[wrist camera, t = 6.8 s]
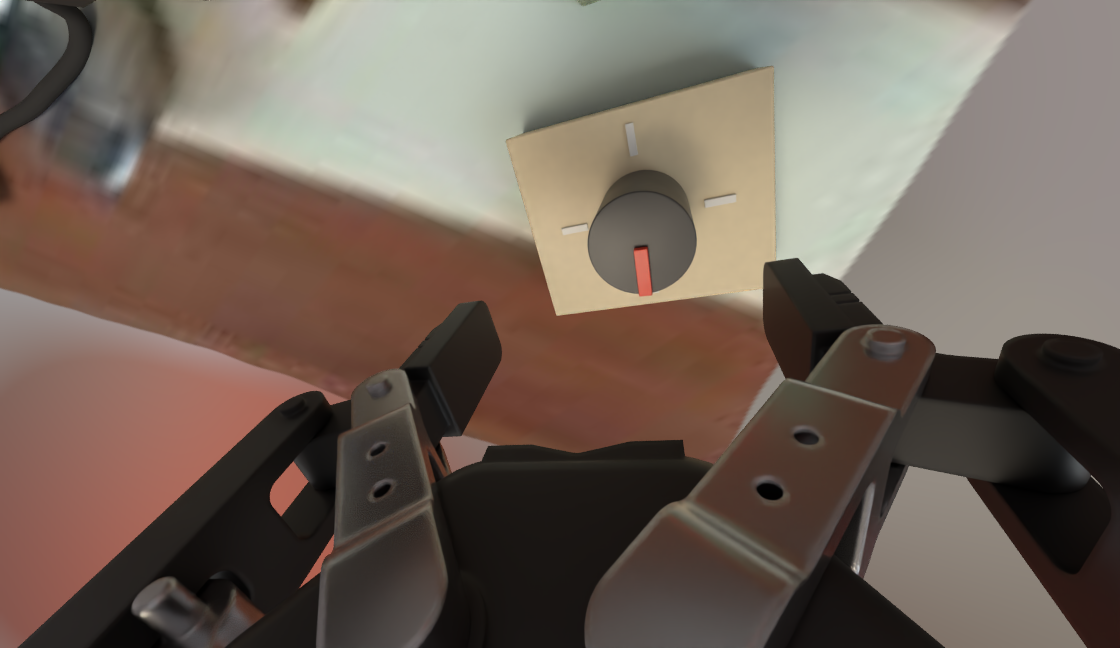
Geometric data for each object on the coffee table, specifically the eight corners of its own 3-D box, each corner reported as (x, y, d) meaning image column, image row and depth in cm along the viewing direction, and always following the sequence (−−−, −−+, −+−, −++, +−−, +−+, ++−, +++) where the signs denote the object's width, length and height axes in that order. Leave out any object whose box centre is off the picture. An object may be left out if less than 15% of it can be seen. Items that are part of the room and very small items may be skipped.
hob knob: (593, 178, 20) (577, 202, 16) (686, 161, 19) (694, 183, 15) (606, 261, 22) (595, 301, 18) (691, 251, 21) (699, 292, 17)
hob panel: (565, 294, 27) (555, 317, 24) (522, 133, 23) (503, 140, 20) (763, 265, 24) (777, 288, 21) (758, 67, 19) (774, 65, 16)
